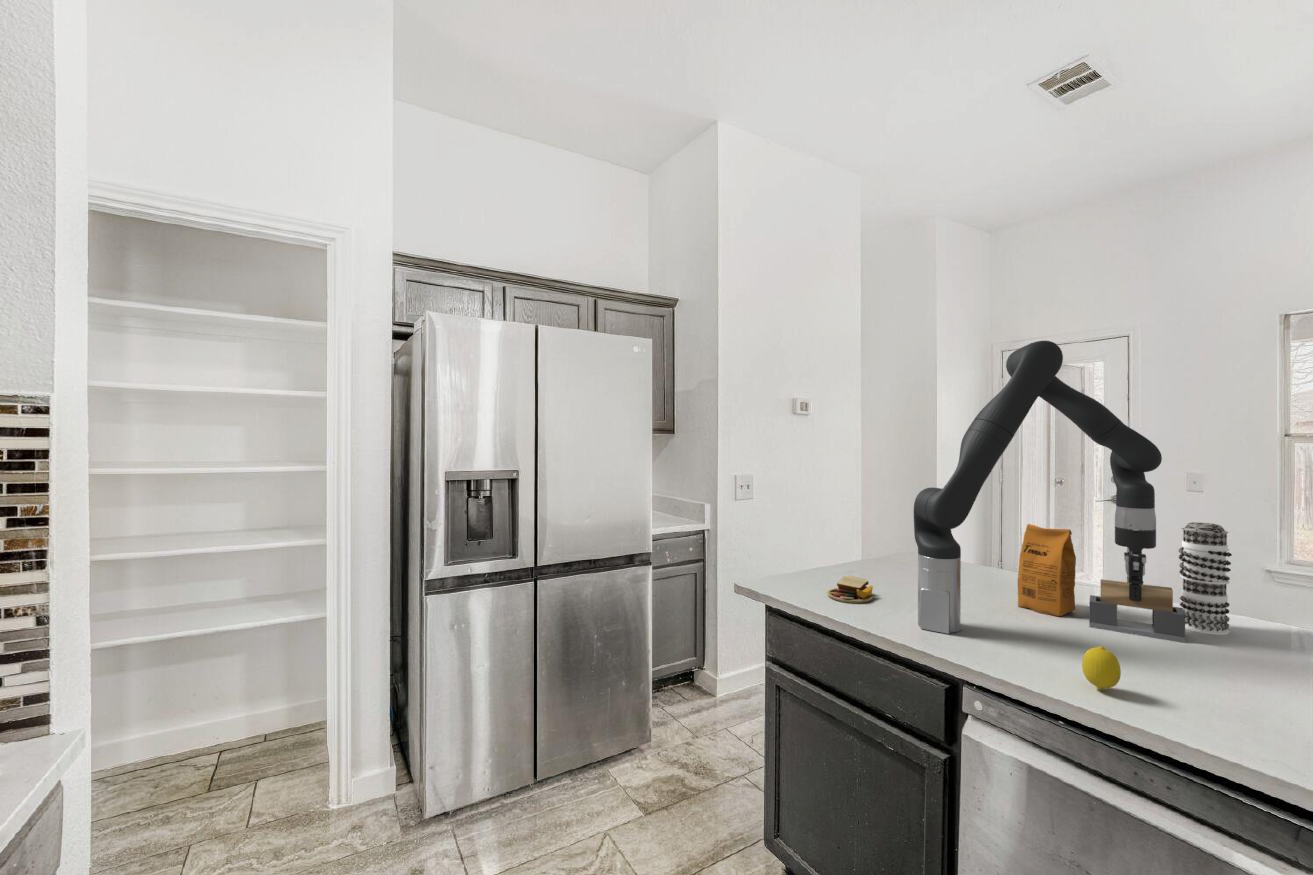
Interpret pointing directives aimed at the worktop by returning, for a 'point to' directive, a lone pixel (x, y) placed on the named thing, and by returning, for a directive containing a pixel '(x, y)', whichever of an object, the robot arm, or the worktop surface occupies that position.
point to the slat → (1149, 596)
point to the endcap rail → (1161, 627)
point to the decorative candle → (1205, 578)
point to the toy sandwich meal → (852, 590)
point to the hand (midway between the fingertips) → (1134, 598)
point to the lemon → (1101, 668)
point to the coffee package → (1047, 571)
